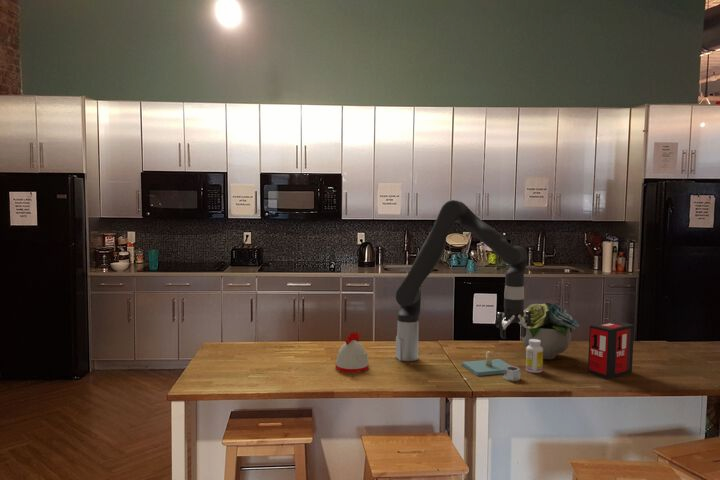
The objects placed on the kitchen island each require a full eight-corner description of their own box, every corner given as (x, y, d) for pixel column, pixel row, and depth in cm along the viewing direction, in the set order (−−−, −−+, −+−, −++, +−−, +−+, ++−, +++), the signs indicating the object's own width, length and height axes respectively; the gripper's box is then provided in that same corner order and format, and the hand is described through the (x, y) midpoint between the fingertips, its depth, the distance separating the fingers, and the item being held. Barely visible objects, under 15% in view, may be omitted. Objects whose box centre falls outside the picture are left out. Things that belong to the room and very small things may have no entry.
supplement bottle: (542, 369, 224) (543, 339, 223) (542, 374, 218) (543, 343, 217) (525, 367, 226) (526, 337, 225) (525, 372, 220) (526, 341, 219)
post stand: (477, 375, 215) (477, 357, 215) (461, 365, 229) (462, 348, 228) (516, 372, 220) (517, 354, 219) (499, 362, 234) (499, 345, 233)
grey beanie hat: (375, 367, 225) (375, 332, 224) (352, 375, 215) (352, 338, 214) (351, 360, 235) (351, 326, 234) (328, 367, 225) (328, 332, 224)
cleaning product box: (611, 366, 228) (613, 320, 227) (631, 372, 221) (634, 324, 219) (587, 373, 220) (589, 325, 218) (607, 379, 212) (609, 329, 211)
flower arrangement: (548, 347, 258) (549, 296, 256) (586, 362, 235) (589, 307, 233) (504, 352, 249) (506, 300, 247) (540, 368, 226) (542, 310, 224)
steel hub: (509, 381, 209) (509, 371, 209) (501, 376, 215) (501, 366, 215) (522, 380, 211) (523, 370, 210) (514, 375, 216) (514, 365, 216)
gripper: (524, 294, 216) (523, 334, 217) (493, 296, 212) (492, 336, 213) (535, 297, 208) (534, 338, 210) (502, 299, 205) (501, 341, 206)
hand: (513, 337), depth 211 cm, fingers open, 8 cm apart
